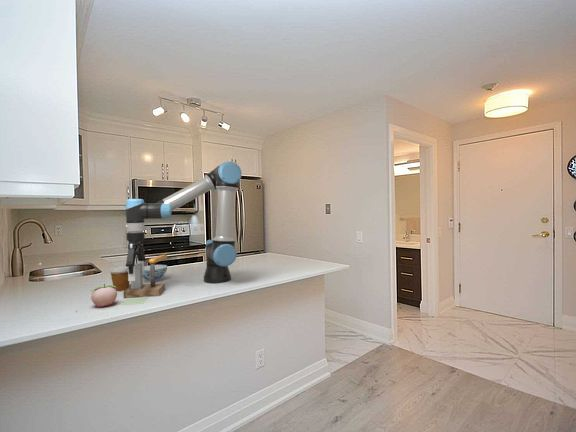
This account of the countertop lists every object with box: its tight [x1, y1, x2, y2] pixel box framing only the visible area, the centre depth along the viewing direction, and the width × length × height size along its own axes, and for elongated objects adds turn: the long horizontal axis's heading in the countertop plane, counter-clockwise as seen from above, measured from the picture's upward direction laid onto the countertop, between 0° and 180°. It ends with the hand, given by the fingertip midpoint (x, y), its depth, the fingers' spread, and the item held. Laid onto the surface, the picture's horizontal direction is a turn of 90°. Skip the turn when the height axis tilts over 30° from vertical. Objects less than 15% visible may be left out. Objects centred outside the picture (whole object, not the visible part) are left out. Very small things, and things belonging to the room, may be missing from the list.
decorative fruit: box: [90, 283, 118, 308], centre depth 125 cm, size 9×8×10 cm
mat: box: [120, 297, 149, 306], centre depth 131 cm, size 9×9×1 cm
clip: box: [148, 254, 168, 264], centre depth 150 cm, size 15×3×2 cm, turn 179°
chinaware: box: [143, 264, 168, 283], centre depth 174 cm, size 15×15×8 cm
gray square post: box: [130, 263, 144, 289], centre depth 142 cm, size 4×4×14 cm
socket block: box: [122, 263, 166, 299], centre depth 143 cm, size 15×12×15 cm
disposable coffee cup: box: [109, 265, 130, 292], centre depth 151 cm, size 10×10×12 cm
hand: (136, 277), depth 142 cm, fingers open, 13 cm apart
